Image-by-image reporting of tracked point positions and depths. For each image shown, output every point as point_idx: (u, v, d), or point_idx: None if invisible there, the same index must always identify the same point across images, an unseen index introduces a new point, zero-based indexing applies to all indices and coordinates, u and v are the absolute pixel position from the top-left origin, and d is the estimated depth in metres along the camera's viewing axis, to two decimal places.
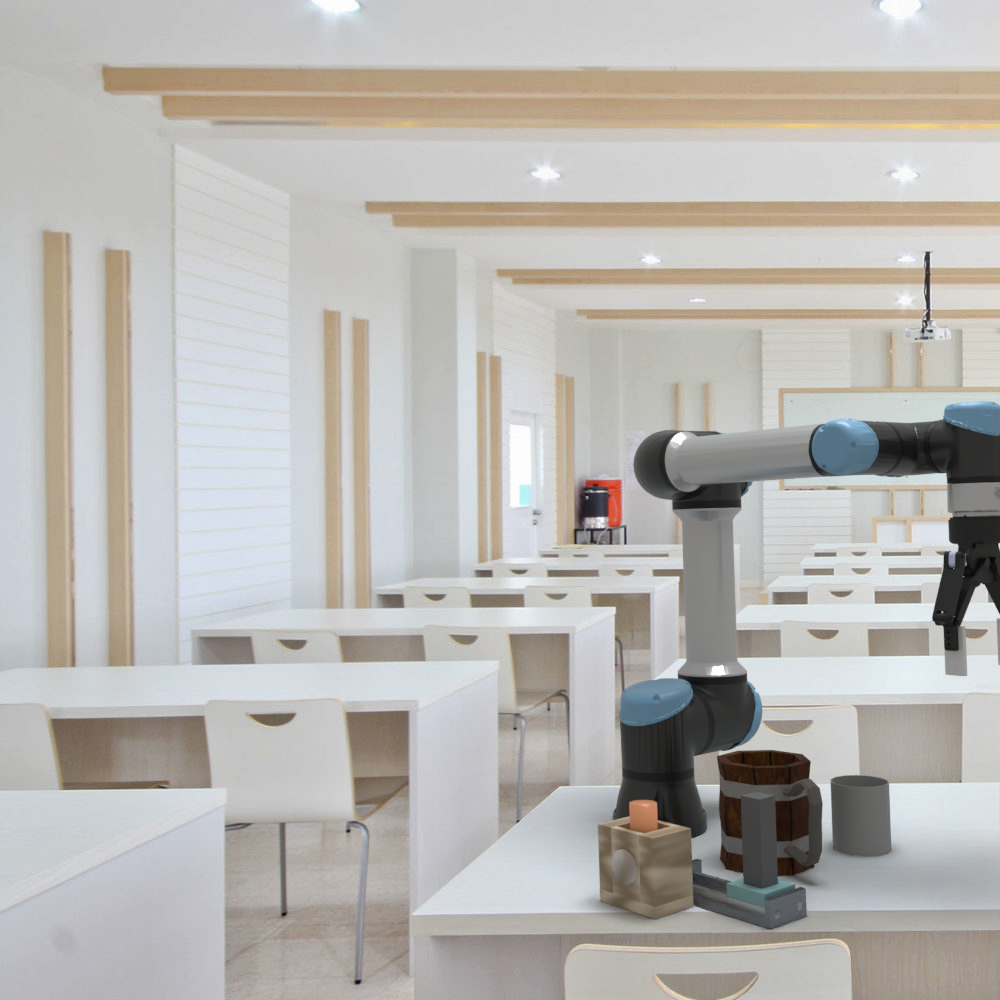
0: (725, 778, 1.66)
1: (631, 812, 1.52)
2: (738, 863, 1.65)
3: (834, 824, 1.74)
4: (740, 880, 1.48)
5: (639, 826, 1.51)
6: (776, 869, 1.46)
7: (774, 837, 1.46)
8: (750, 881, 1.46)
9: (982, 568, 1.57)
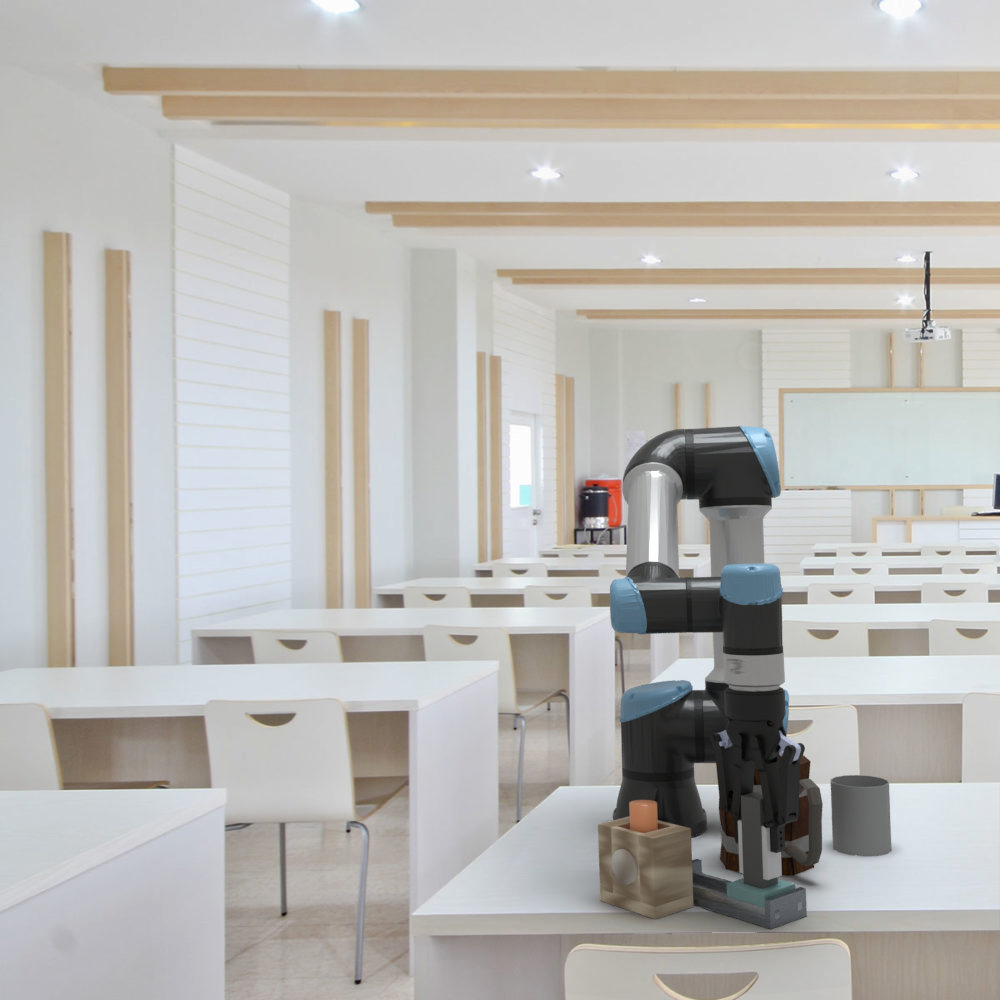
0: None
1: (631, 812, 1.52)
2: (738, 863, 1.65)
3: (834, 824, 1.74)
4: (740, 880, 1.48)
5: (639, 826, 1.51)
6: None
7: None
8: (750, 881, 1.46)
9: (736, 747, 1.47)
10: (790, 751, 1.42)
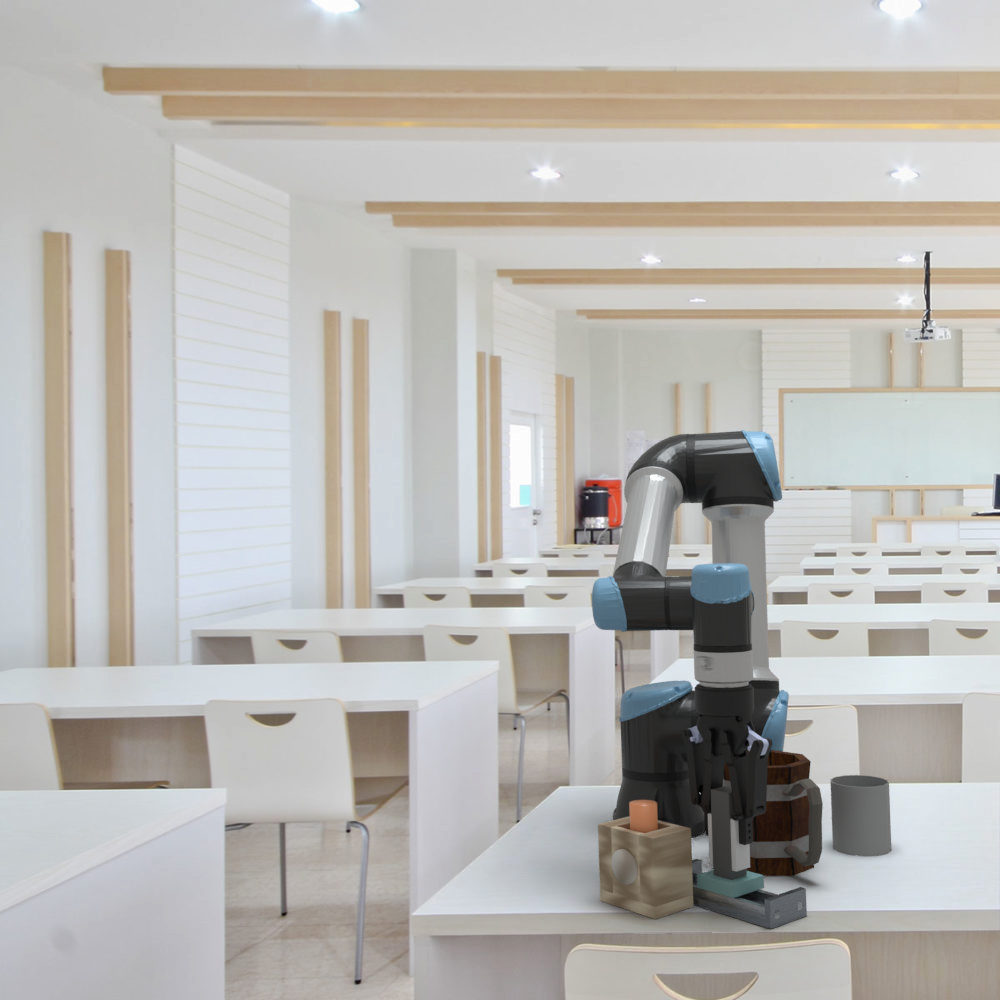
0: (725, 778, 1.66)
1: (631, 812, 1.52)
2: None
3: (834, 824, 1.74)
4: (710, 872, 1.52)
5: (639, 826, 1.51)
6: None
7: None
8: (719, 872, 1.50)
9: (706, 742, 1.51)
10: (758, 746, 1.46)
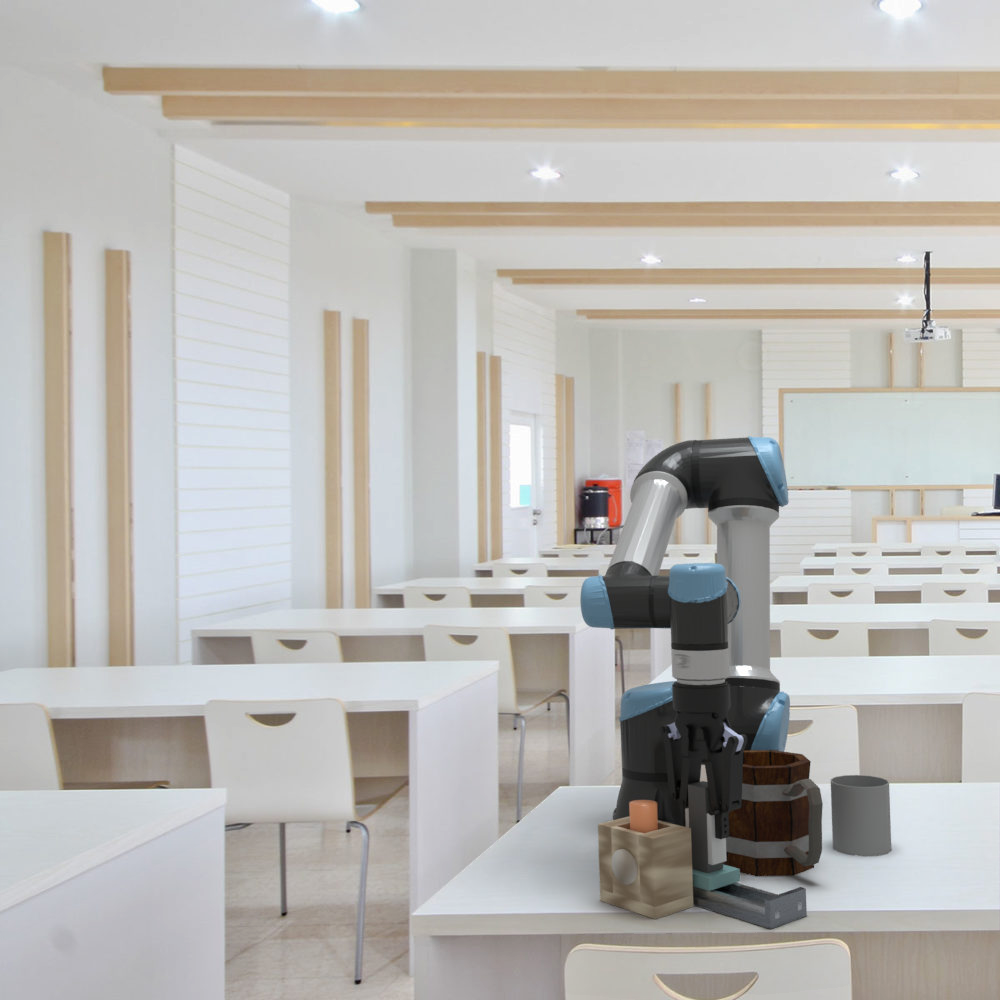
0: None
1: (631, 812, 1.52)
2: (738, 863, 1.65)
3: (834, 824, 1.74)
4: None
5: (639, 826, 1.51)
6: None
7: None
8: (696, 866, 1.53)
9: (684, 738, 1.54)
10: (733, 742, 1.49)
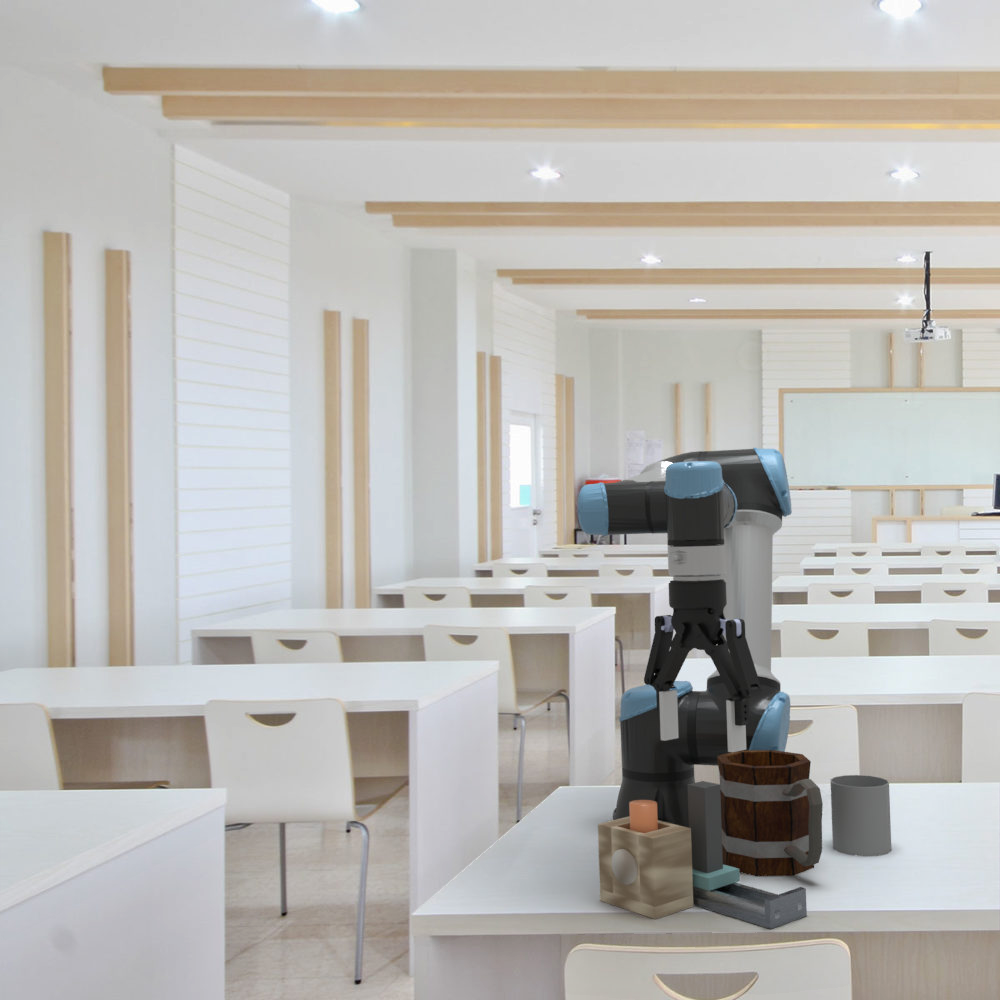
0: (725, 778, 1.66)
1: (631, 812, 1.52)
2: (738, 863, 1.65)
3: (834, 824, 1.74)
4: None
5: (639, 826, 1.51)
6: (721, 855, 1.54)
7: (719, 824, 1.53)
8: (696, 866, 1.53)
9: (677, 634, 1.55)
10: (730, 624, 1.49)
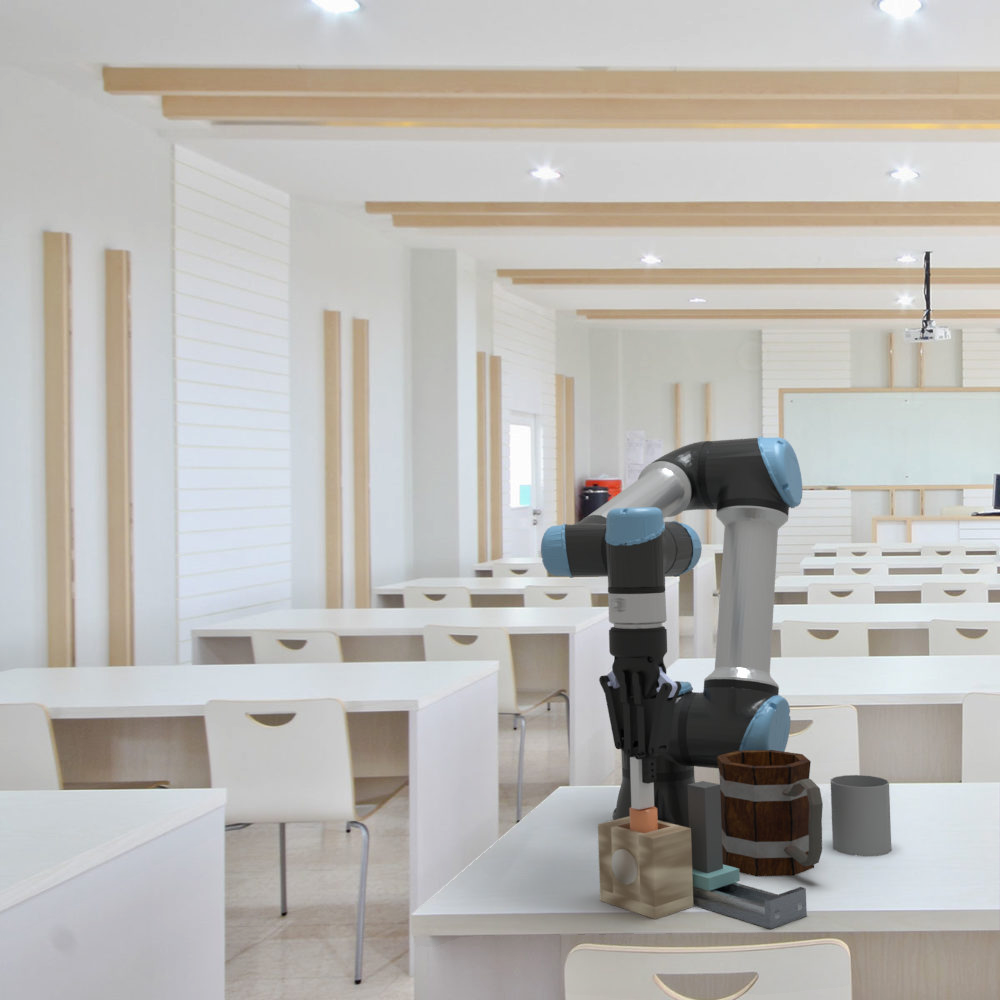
0: (725, 778, 1.66)
1: (631, 818, 1.52)
2: (738, 863, 1.65)
3: (834, 824, 1.74)
4: None
5: None
6: (721, 855, 1.54)
7: (719, 824, 1.53)
8: (696, 866, 1.53)
9: (621, 684, 1.53)
10: (666, 688, 1.47)
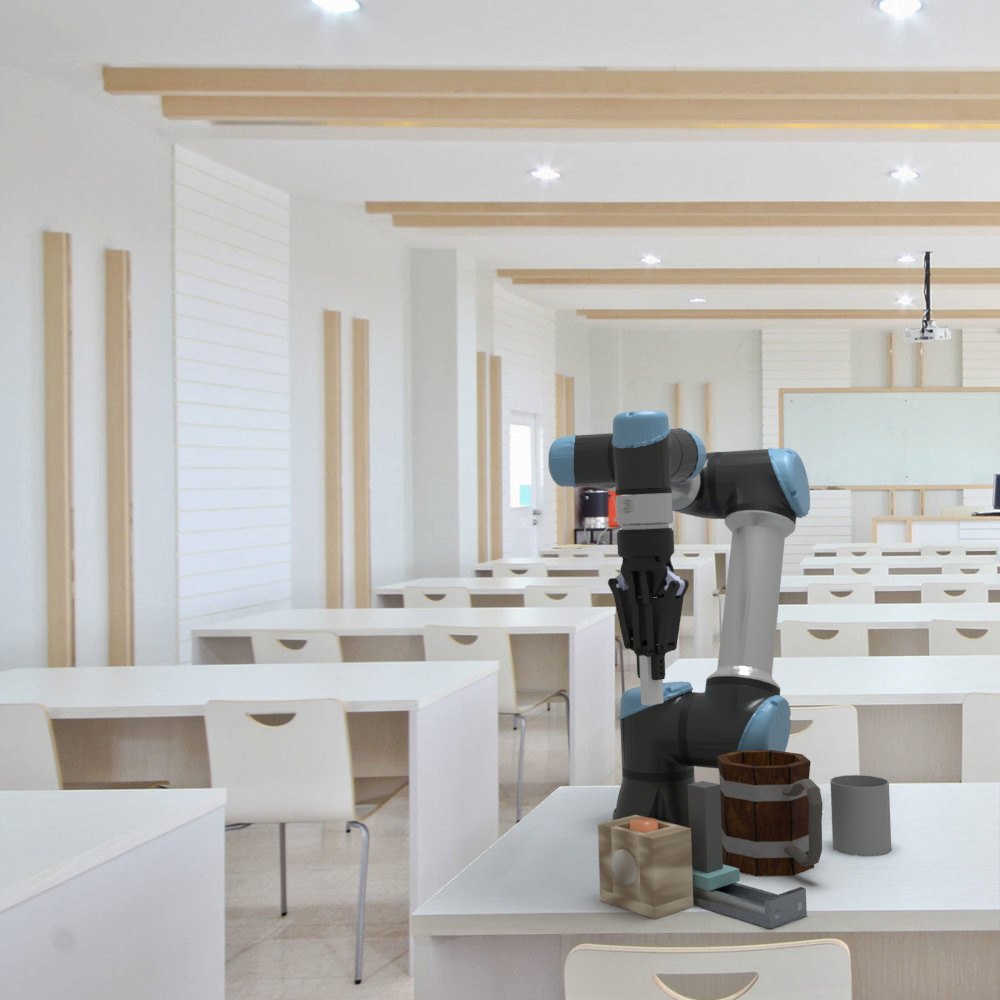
0: (725, 778, 1.66)
1: None
2: (738, 863, 1.65)
3: (834, 824, 1.74)
4: None
5: None
6: (721, 855, 1.54)
7: (719, 824, 1.53)
8: (696, 866, 1.53)
9: (630, 585, 1.56)
10: (674, 586, 1.51)
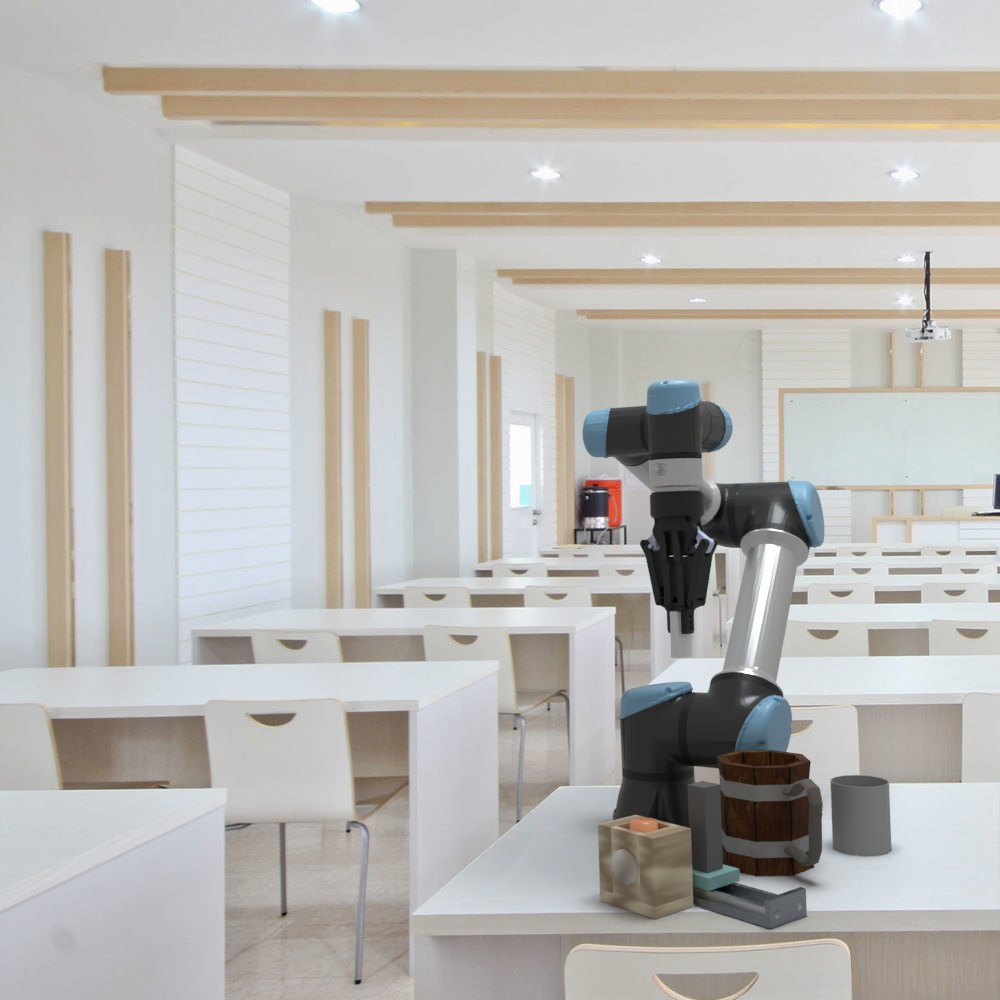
0: (725, 778, 1.66)
1: None
2: (738, 863, 1.65)
3: (834, 824, 1.74)
4: None
5: None
6: (721, 855, 1.54)
7: (719, 824, 1.53)
8: (696, 866, 1.53)
9: (661, 544, 1.66)
10: (704, 544, 1.60)
